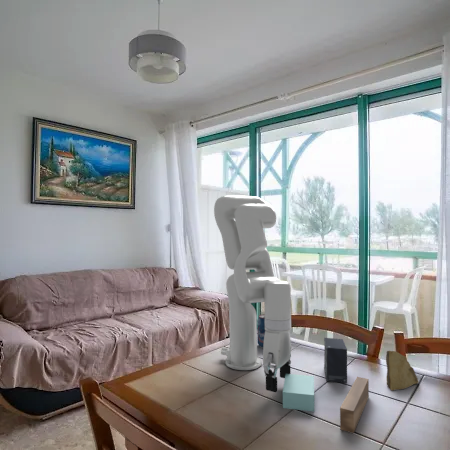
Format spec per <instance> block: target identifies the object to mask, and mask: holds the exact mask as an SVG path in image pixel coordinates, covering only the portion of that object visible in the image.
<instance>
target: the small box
mask: <svg viewBox="0 0 450 450" xmlns="http://www.w3.org/2000/svg"><path fill="white" fill-rule="evenodd" d="M323 343H324V344H323V346H324V350H323V351H324V354H323V357H324V359H323V363H324V364H323V366H324V367H323V369H324V370H323V371H324V375H325V381H326V382H333V383H343V384H344V383H346V384H347V383H348V348H347V346H346V344H345V341H344V339H343V338H333V337H324V338H323Z"/></svg>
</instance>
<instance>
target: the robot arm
mask: <svg viewBox="0 0 450 450" xmlns="http://www.w3.org/2000/svg"><path fill="white" fill-rule="evenodd" d="M213 214H214V216H213V217H214V220H215V223H216V225H217V227H218V230H219V232H220V235H221V239H222V245H223V252H224V257H225V261H226V265H227V267H228V268H229V269H230V270H232V271H233V274H231V275H229V276H228V277H227V280H226V282H225V284H226V292H227V294H226V295H227V298H228V312H229V314H228V315H229V317H228V319H229V347H225V346H222V348H221V351H220V354H221V355H223V356H226V358H225V362H224V363H225V366H226V367H228V368H230V369H233V370H237V371H251V370H256V369H259V368H260V367H261V366H262V365H263V372H264V377H265V390H266V391H268V392H271V393H274V394H275V393H277V392H278V377H277V373H278V369H279V377H280V378H282V379H285V375H286V374H292V372H291V364H292V362H291V357H292V345H291V340H292V339H291V331H292V300H291V299H292V297H291V296H292V295H291V294H292V293H291V291H292V290H291V284H290V283H289V282H288V281H286V280H281V279H279V278H278V277H275V275H274V272H273V271H274V270H273V266H272V262H271V257H270V254H269V253H270V252H269V251H268V249H267V246H268V242H267V239H266V234H265V231H264V229H271V228H273V227H275V225H276V223H277V214H276V211H275V209H274V207H273V206H272V205H271V204H270V203H269V202H268V201H265V200H264V199H262V198H261V197H259V196H252V195H224V196H219V197H218V198H216V200H215V202H214V206H213ZM249 270H254V271H249ZM257 303H264V304H263V305H264V307H263V308H264V314H265V330H266V331H265V335H264V345H263V348H262V349H263V350H262V358H260V357H259V356H258V343H257V320H258V315H257V310H256V308H255V307H254V306H253V304H257Z"/></svg>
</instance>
